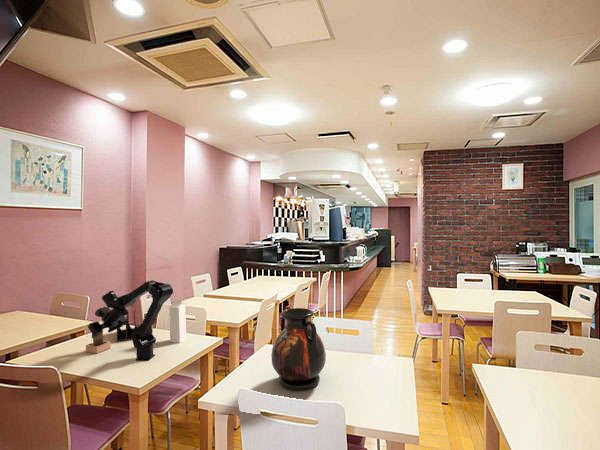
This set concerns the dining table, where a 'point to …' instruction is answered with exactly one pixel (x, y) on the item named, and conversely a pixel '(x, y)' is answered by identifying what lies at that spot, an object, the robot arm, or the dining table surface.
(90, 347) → the pink open box
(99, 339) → the brown tall cylinder
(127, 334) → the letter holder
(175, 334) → the milk
